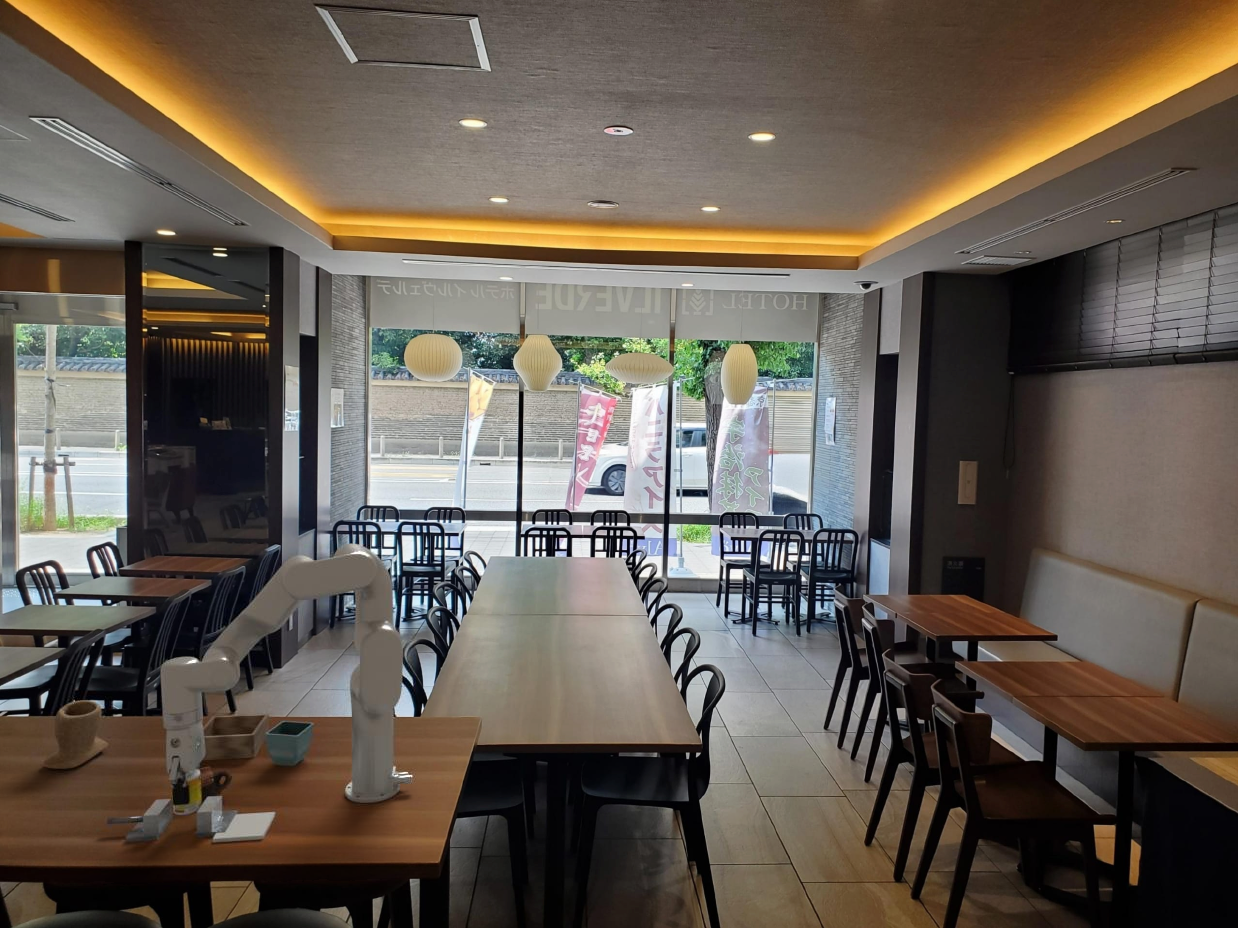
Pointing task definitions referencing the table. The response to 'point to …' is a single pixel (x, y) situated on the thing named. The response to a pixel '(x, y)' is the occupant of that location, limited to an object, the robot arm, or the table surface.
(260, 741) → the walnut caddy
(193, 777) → the supplement bottle
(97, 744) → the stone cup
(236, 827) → the white coaster
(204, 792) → the pottery mug
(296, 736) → the flower pot
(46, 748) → the table surface
